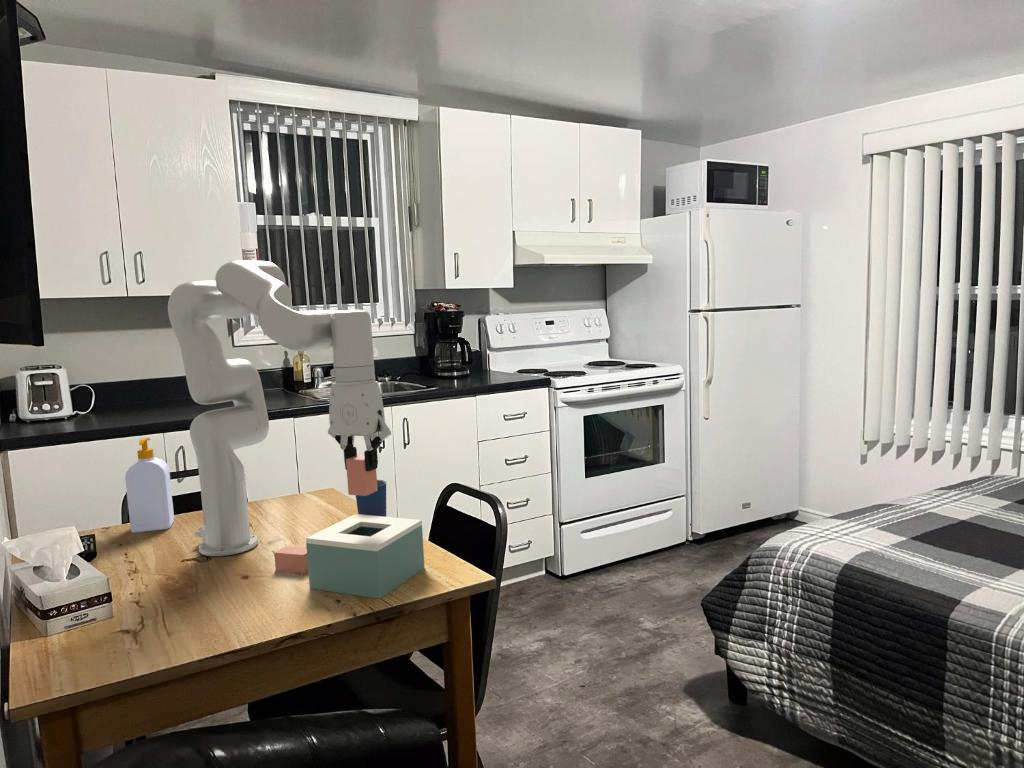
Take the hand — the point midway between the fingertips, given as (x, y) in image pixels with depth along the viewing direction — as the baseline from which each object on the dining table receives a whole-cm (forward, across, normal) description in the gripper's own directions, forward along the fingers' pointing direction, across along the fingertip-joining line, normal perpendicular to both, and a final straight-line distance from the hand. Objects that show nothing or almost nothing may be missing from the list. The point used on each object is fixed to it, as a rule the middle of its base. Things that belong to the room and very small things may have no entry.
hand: (361, 468), depth 142 cm
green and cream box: (+22, 0, 0) cm, 22 cm away
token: (+22, -18, 0) cm, 29 cm away
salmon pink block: (+5, 0, 0) cm, 5 cm away
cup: (+22, -8, +14) cm, 28 cm away
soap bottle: (+22, -73, +12) cm, 77 cm away
